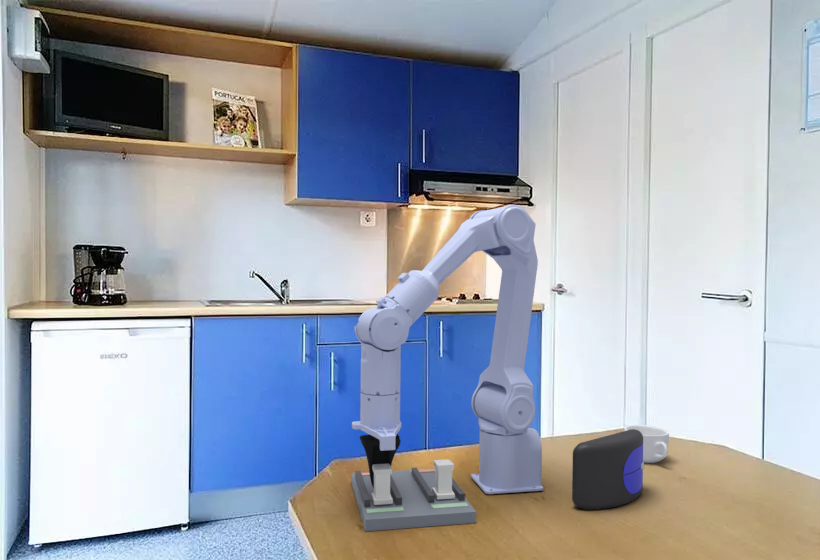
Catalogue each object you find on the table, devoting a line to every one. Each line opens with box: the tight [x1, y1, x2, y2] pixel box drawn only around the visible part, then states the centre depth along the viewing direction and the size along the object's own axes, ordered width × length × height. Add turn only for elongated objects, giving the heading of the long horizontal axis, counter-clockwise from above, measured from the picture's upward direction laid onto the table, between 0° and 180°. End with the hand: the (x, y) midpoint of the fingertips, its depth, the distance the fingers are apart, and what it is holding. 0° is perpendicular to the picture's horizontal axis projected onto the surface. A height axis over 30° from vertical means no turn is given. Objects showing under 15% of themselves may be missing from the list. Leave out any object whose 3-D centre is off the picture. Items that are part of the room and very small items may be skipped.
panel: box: [350, 467, 477, 532], centre depth 85 cm, size 15×18×2 cm
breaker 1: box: [371, 464, 393, 505], centre depth 81 cm, size 3×3×5 cm
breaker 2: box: [432, 459, 455, 500], centre depth 83 cm, size 3×3×5 cm
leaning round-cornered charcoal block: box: [571, 429, 645, 510], centre depth 86 cm, size 16×5×9 cm, turn 127°
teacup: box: [623, 424, 670, 464], centre depth 105 cm, size 10×8×5 cm
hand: (379, 486), depth 83 cm, fingers closed
